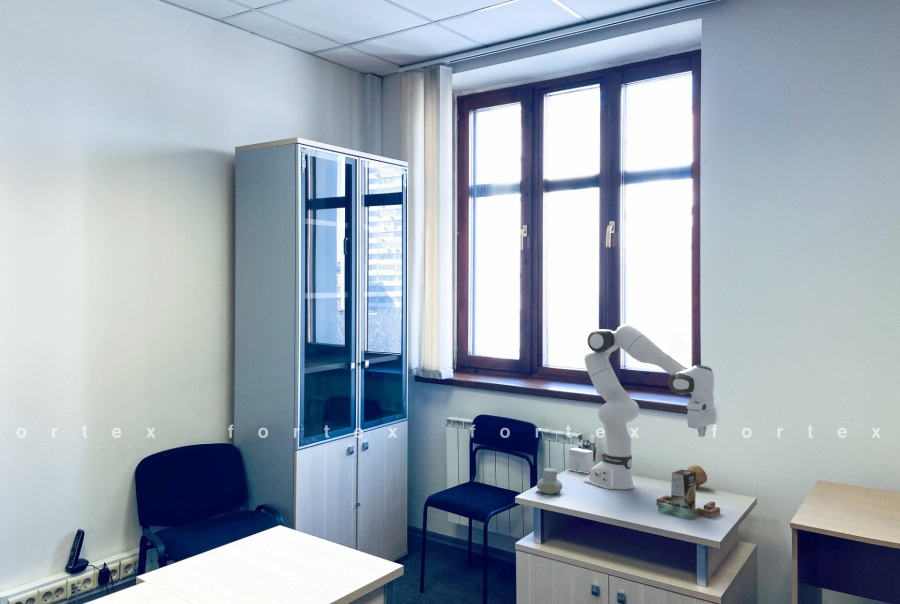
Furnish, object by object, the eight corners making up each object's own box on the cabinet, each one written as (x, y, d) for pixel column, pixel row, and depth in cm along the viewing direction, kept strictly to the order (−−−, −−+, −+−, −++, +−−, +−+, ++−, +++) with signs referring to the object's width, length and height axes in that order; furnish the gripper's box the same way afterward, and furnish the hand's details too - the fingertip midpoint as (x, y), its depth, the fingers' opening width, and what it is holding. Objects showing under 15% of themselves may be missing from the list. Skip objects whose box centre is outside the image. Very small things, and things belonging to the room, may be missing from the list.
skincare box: (593, 471, 333) (593, 450, 333) (585, 474, 329) (586, 452, 329) (575, 467, 341) (576, 446, 341) (568, 470, 336) (568, 448, 336)
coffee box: (685, 516, 266) (686, 475, 266) (670, 512, 270) (671, 472, 270) (696, 511, 272) (696, 471, 272) (680, 508, 277) (681, 468, 277)
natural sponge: (707, 486, 311) (707, 464, 311) (706, 491, 302) (707, 468, 302) (686, 483, 314) (686, 462, 314) (685, 488, 306) (685, 466, 306)
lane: (647, 509, 275) (647, 500, 275) (672, 498, 290) (672, 490, 290) (703, 522, 259) (703, 513, 259) (726, 510, 274) (726, 502, 274)
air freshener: (562, 491, 299) (563, 468, 299) (561, 496, 291) (561, 472, 291) (538, 488, 301) (538, 466, 301) (535, 494, 293) (536, 470, 293)
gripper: (705, 400, 298) (705, 432, 298) (684, 405, 283) (684, 438, 283) (719, 402, 293) (719, 434, 293) (699, 407, 279) (698, 440, 279)
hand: (701, 436), depth 288 cm, fingers closed
